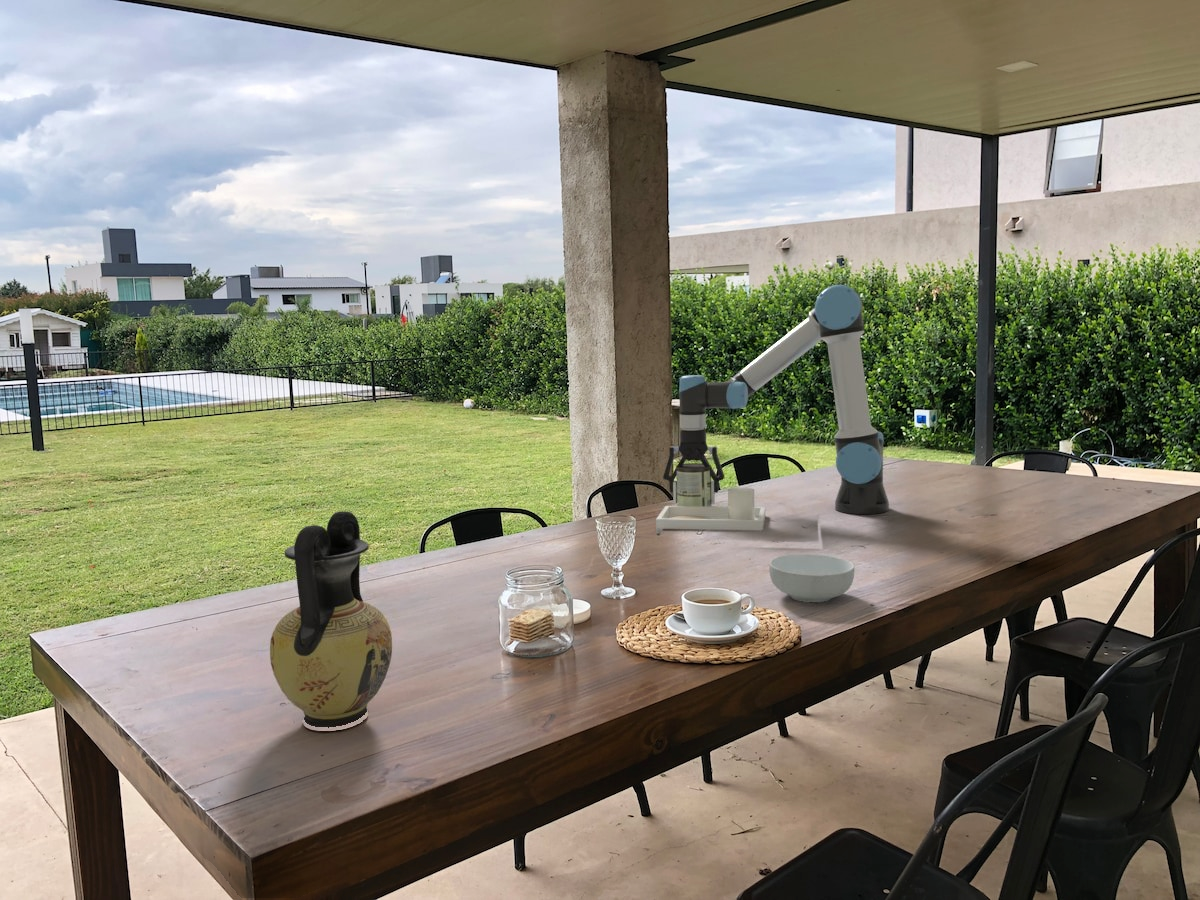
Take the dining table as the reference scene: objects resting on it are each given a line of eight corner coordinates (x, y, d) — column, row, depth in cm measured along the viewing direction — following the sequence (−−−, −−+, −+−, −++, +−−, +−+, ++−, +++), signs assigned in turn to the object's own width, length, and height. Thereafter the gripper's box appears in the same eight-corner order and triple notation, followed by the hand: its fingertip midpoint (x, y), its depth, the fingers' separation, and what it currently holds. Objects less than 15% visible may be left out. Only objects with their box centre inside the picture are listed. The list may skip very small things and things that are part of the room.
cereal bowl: (838, 614, 176) (839, 578, 175) (756, 603, 184) (756, 568, 183) (864, 591, 190) (865, 557, 189) (787, 581, 199) (787, 549, 198)
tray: (765, 521, 258) (765, 507, 258) (762, 535, 241) (762, 520, 240) (665, 519, 264) (665, 505, 264) (656, 533, 247) (655, 519, 246)
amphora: (377, 746, 126) (363, 530, 122) (255, 747, 127) (237, 533, 123) (409, 694, 143) (397, 504, 139) (302, 696, 144) (287, 507, 140)
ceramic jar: (755, 519, 253) (755, 487, 252) (753, 525, 247) (753, 492, 245) (729, 519, 255) (729, 487, 254) (727, 525, 248) (727, 492, 247)
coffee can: (677, 509, 278) (676, 463, 276) (711, 509, 277) (710, 462, 275) (676, 516, 268) (675, 468, 266) (712, 516, 267) (711, 468, 265)
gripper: (733, 426, 270) (734, 501, 273) (655, 427, 275) (657, 500, 278) (731, 429, 263) (732, 506, 266) (651, 430, 268) (653, 505, 271)
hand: (694, 503), depth 272 cm, fingers open, 10 cm apart
